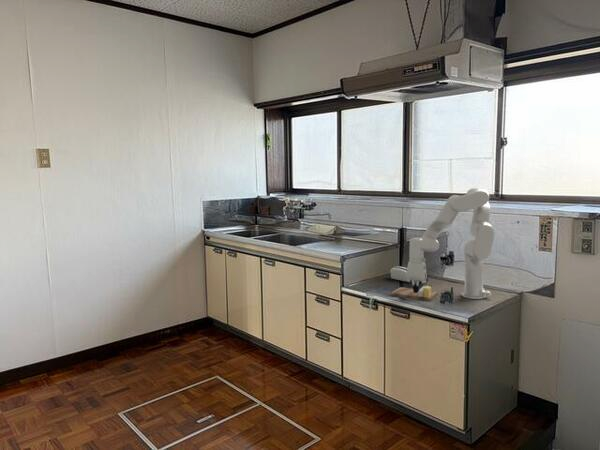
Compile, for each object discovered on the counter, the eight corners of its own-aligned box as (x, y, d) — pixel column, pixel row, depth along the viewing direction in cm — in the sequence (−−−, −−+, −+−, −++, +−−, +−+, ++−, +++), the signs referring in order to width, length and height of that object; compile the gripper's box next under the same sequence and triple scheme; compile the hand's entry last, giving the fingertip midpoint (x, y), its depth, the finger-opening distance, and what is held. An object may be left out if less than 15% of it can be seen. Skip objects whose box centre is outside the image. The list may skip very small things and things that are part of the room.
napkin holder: (417, 281, 290) (413, 267, 287) (412, 285, 288) (409, 271, 284) (395, 276, 303) (392, 263, 299) (391, 280, 300) (388, 267, 297)
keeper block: (431, 295, 254) (431, 286, 254) (428, 297, 251) (428, 288, 250) (425, 294, 256) (425, 286, 255) (423, 296, 253) (423, 288, 252)
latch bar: (423, 290, 264) (423, 284, 264) (429, 290, 263) (429, 285, 262) (417, 296, 253) (417, 290, 252) (423, 297, 251) (423, 291, 251)
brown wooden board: (438, 294, 260) (438, 292, 260) (430, 301, 249) (430, 298, 249) (400, 289, 273) (400, 287, 273) (391, 295, 262) (390, 292, 262)
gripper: (432, 260, 252) (431, 292, 254) (406, 257, 260) (405, 288, 263) (427, 262, 246) (426, 295, 248) (401, 259, 254) (400, 292, 257)
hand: (416, 292), depth 256 cm, fingers closed
